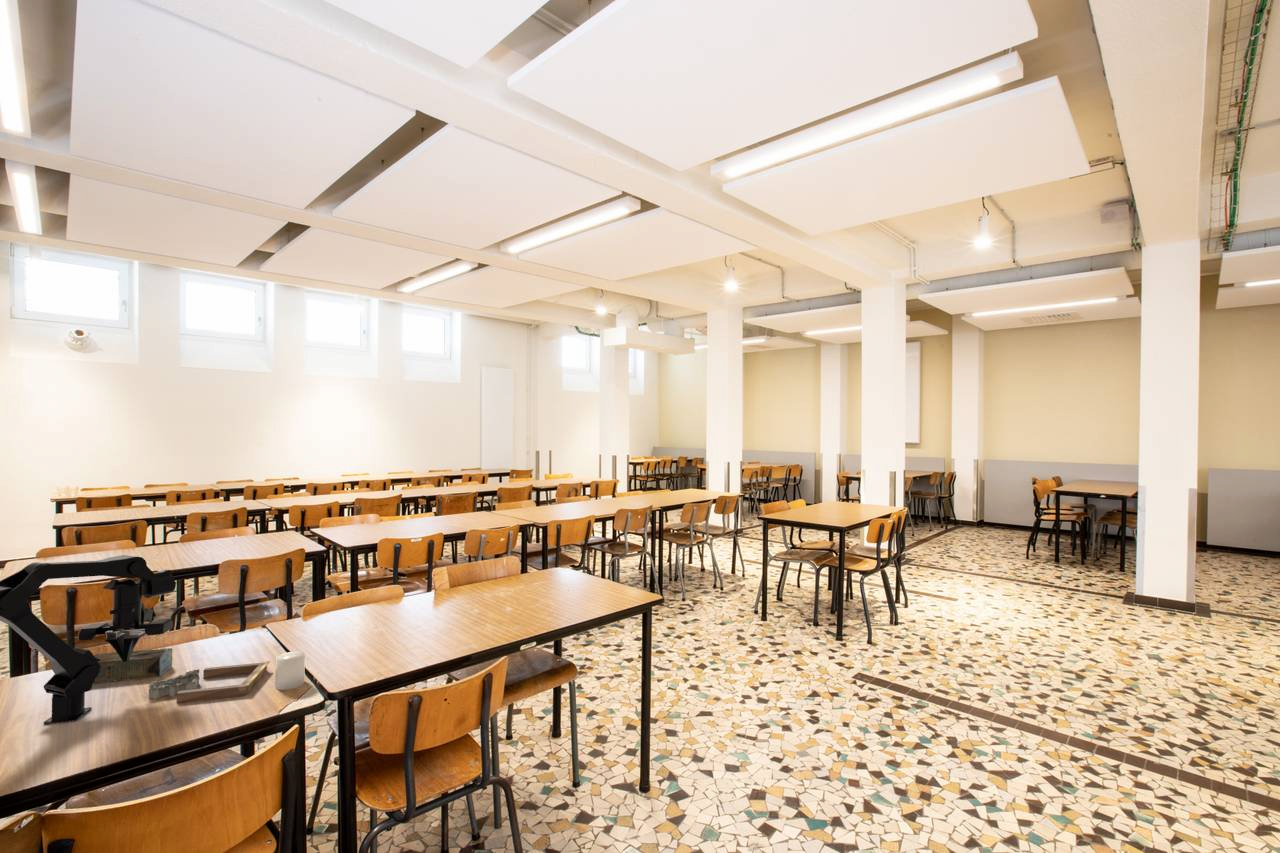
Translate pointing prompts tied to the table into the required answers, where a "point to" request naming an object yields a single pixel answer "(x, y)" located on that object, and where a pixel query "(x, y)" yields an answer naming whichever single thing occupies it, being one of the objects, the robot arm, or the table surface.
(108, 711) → the table surface
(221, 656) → the table surface
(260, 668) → the frame
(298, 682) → the off-white rounded cube
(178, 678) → the egg carton
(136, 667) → the grey-green printed box
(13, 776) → the table surface
